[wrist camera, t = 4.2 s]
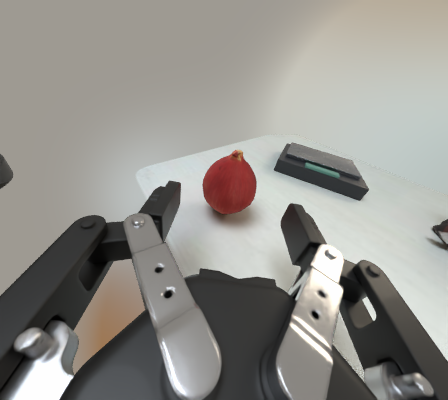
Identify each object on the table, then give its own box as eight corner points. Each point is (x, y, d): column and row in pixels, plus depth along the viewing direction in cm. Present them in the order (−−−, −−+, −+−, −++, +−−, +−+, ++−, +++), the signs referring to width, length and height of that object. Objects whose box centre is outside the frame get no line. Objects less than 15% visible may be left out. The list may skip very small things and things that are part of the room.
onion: (198, 196, 22) (205, 134, 18) (240, 198, 24) (257, 142, 19) (200, 229, 18) (211, 158, 13) (251, 230, 19) (278, 165, 14)
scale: (273, 170, 34) (279, 155, 32) (283, 152, 45) (288, 140, 43) (360, 200, 30) (372, 185, 28) (347, 172, 41) (356, 160, 39)
